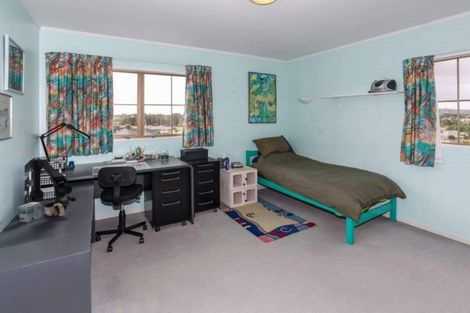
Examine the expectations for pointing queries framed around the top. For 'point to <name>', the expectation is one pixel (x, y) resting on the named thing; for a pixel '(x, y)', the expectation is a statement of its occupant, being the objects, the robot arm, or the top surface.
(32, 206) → the light bulb box
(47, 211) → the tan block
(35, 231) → the top surface
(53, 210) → the tethered block
